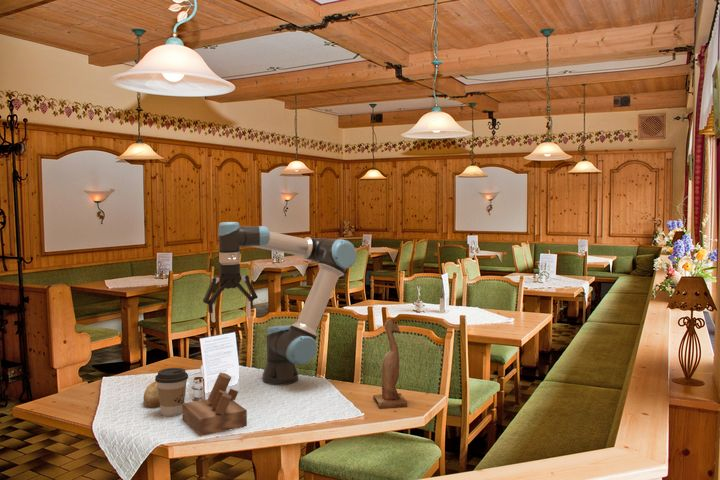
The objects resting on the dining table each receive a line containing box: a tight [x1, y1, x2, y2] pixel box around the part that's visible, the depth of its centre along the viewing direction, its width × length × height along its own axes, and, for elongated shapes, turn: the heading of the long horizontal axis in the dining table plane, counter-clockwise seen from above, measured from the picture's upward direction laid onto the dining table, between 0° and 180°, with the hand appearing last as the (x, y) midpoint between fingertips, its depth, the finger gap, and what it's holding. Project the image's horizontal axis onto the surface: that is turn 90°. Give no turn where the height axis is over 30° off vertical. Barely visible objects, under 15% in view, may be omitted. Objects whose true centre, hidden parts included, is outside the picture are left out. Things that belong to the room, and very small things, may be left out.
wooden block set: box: [207, 372, 239, 415], centre depth 201 cm, size 18×9×10 cm, turn 5°
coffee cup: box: [154, 367, 189, 417], centre depth 210 cm, size 11×11×15 cm
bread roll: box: [143, 380, 160, 408], centre depth 222 cm, size 10×15×8 cm, turn 177°
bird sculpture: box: [372, 318, 408, 409], centre depth 222 cm, size 11×12×32 cm
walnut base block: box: [181, 398, 248, 437], centre depth 201 cm, size 16×18×6 cm
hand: (231, 319), depth 223 cm, fingers open, 13 cm apart
